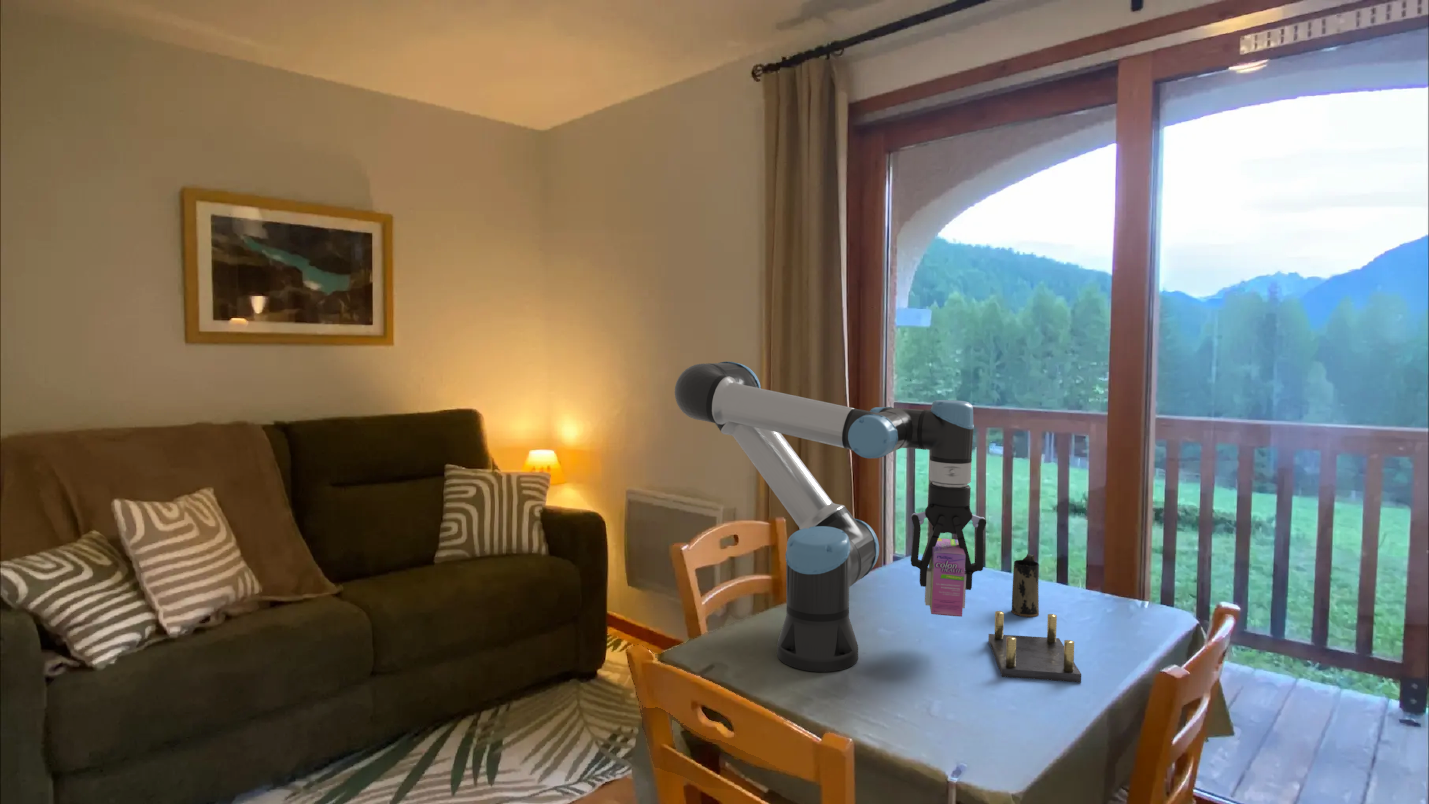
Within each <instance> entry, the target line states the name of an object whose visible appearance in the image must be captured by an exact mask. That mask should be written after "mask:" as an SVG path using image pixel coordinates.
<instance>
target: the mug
mask: <svg viewBox="0 0 1429 804" xmlns="http://www.w3.org/2000/svg"><path fill="white" fill-rule="evenodd" d="M1039 566H1040V564H1039V562H1037V561H1035V555H1034V554H1029V553H1028V554H1026V555H1025V557H1024V558H1023V559H1017V560H1014V561H1013V572H1012V573H1013V574H1012V575H1013V576H1012V590H1011V591H1012V594H1011V613H1012V614H1013V615H1015V616H1018V617H1022V618H1035V617H1038V616H1039V615H1040V609H1039V603H1040V602H1039V601H1040V600H1039V599H1040V598H1039V597H1040V596H1039V595H1040V594H1039V580H1040V579H1039V576H1040V575H1039V572H1040V571H1039V570H1040V567H1039Z"/></svg>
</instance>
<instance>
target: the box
mask: <svg viewBox="0 0 1429 804" xmlns="http://www.w3.org/2000/svg"><path fill="white" fill-rule="evenodd" d="M965 558H966V555H965V552H964V550H963V549H962V548H960V547H959V544H958V540H957V538H956V539H955V538H940V537H939V538H938V540H937V543H936V546H935V547H932V557H931V560H930V562H929V565H928V568H930V569H931V588H930V606H929V609H930V614H931V615H937V616H949V617H963V609H964V608H963V591H964V574H965Z"/></svg>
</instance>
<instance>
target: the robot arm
mask: <svg viewBox="0 0 1429 804" xmlns="http://www.w3.org/2000/svg"><path fill="white" fill-rule="evenodd" d="M761 387H762V386H761V383H760V380H759V377H758V376H757V374H756V373H755V372H754V371H753V370H752V369H751V368H750V367H748V366H747V365H745V364H742V363H738V362H734V361H720V362H718V363H717V362H714V363H709V362H708V363H697V364H693V365H691V366H689V367H687V368H686V369H684V370H683V371H682V372H681V374H680V375H679V376H678V378H677V380H676V383H675V386H674V398H675V402H676V404H677V407H678V408H679V409H680V411H681V413H683V414H685V415H686V417H689V418H691V419H694V420H697V421H702V422H708V423H712V424H714V425H715V426H716V428H717V429H718V430H719V431H720V433H722V435H726V436H732V437H733V438H734V440H735V441H736V443H737V444H738V445H739V447H740V448H741V449H742V451H743V452H744V453H745V455H746V456H747V457H748V459H749V460H750V462H751V463H752V464H753V466H754V467H755V469H756V470H757V471H758V473H759V474H760V475H761V477H762V478H763V480H764V481H765V482H766V484H767V485H768V487H769V488H770V489H771V491H772V492H773V493H774V495H775V496H776V498H777V499H778V500H779V502H780V503H781V504H782V506H783V507H784V508H785V510H786V511H787V513H788V514H789V515H790V517H791V518H792V519H793V522H795V524H796V525H797V526H798V528H799V529H798V530H796V531H795V532H793V533H792V534H790V536H789V537H788V539H787V542H786V550H785V555H784V556H785V562H786V563H785V564H786V565H785V569H786V570H785V571H786V572H785V573H786V574H785V576H786V577H785V578H786V584H785V586H786V587H785V588H786V590H785V591H786V614H785V618H784V620H783V623H782V626H781V630H780V633H779V636H778V639H777V643H776V656H777V659H778V660H780V662H781V663H783V664H785V665H786V666H788V667H792V668H794V669H797V670H801V671H807V672H817V673H819V672H820V673H822V672H823V673H824V672H837V671H842V670H845V669H848V668H851V667H852V666H854V665H855V664H856V663H857V662H858V661H859V645H858V642H857V638H856V635H855V631H854V628H853V625H852V623H851V619H850V588H851V587H852V586H853V585H854V584H855V583H857V582H859V580H862V579H863V578H864V577H866V576H867V575H869V573H870V572H871V571H872V569H873V568H874V567H875V565H876V563H877V562H878V560H879V555H880V545H879V544H880V542H879V539H878V537H877V534H876V533H875V531H874V529H873V528H872V527H871V526H870V525H869V524H868V523H867V522H865V521H863V520H861V519H858V518H854V516H853V515H852V513H851V512H850V511H849V510H848V509H847V507H846V505H844V504H838V503H836V502H833V501H832V499H831V498H830V497H829V495H828V494H827V493H826V491H825V490H824V489H823V487H822V486H821V484H820V483H819V481H818V480H817V479H816V478H815V477H814V475H813V474H812V473H811V471H810V470H809V468H808V467H807V466H806V465H805V464H804V462H803V461H802V460H801V458H800V457H799V456H798V454H797V453H796V451H795V450H794V448H793V447H792V446H791V444H790V443H789V442H788V440H787V439H786V437H784V435H787V436H790V437H796V438H800V439H804V440H809V441H812V442H817V443H822V444H824V445H825V444H826V445H830V446H834V447H839V448H843V449H847V450H850V451H853V452H854V453H855V454H856V455H858V456H860V457H861V458H865V459H880V458H883V457H885V456H887V455H890V454H891V453H893V452H895V451H898V450H900V449H912V450H914V449H915V450H927V451H929V468H928V469H929V470H928V479H929V481H930V483H929V484H928V492H927V493H928V494H927V495H928V497H927V506H926V508H925V510H924V511H921V512H915V511H913V512H911V514H910V516H911V522H912V524H913V526H912V527H913V528H912V539H911V552H910V565H911V566H912V567H914V568H915V567H916V568H918V569H919V584H920V587H925V590H924V603H925V606H929V607H930V588H931V569H930V568H929V562H930V560H931V557H932V547H935V546H936V543H937V540H938V538H940V536H941V534H952V535H955V537H956V540H958V544H959V547H960V548H962V549H963V550H964V552H965V555H966V558H965V574H964V591H963V609H965V608H966V594H967V593H966V592H967V591H971V589H972V588H973V574H974V573H975V572H982V571H983V569H984V530H985V528H986V525H987V520H986V519H985V517H984V516H982V515H980V516H978V515H977V514H973V513H972V510H971V489H972V488H971V486H970V485H969V484H970V483H972V479H971V478H972V462H973V460H972V458H973V457H972V455H973V442H974V430H975V425H974V407H973V404H971V403H970V402H968V401H965V400H957V399H956V400H955V399H948V400H947V399H937V400H934V401H933V402H932V404H931V407H930V409H924V410H923V409H914V408H913V409H912V408H903V407H902V408H898V407H892V406H885V407H878V406H877V407H872V408H871V409H870V410H865V409H859V408H858V409H857V408H854V407H849V406H845V405H840V404H835V403H831V402H826V401H822V400H818V399H817V400H816V399H812V398H808V397H807V398H806V397H802V396H798V395H792V394H790V393H789V394H788V393H783V392H779V391H775V390H771V389H770V390H769V389H765V388H761ZM926 518H927V520H928V522H929V523H930V525H931V526H932V528H931V530H930V535H929V537H928V540H927V543H926V546H925V548H924V552H923V554H922V557H921V559H919V554H920V553H919V552H920V542H921V525H923V524H924V521H925V519H926ZM970 521H972V523H971V524H972V526H973V528H974V562H973V563H972V562H971V558H970V555H969V551H968V550H969V549H968V546H967V543H966V542H967V541H966V538H965V535H964V531H963V530H964V528H965V527H966V526H967V525H968V524H969V523H970Z"/></svg>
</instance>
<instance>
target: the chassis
mask: <svg viewBox="0 0 1429 804" xmlns="http://www.w3.org/2000/svg"><path fill="white" fill-rule="evenodd" d="M1057 620H1058V616H1057V614H1054V613H1048V614H1047V623H1046V624H1047V625H1046V626H1047V628H1046V630H1047V631H1046V636H1045V637H1044V636H1032V635H1031V636H1029V635H1028V636H1027V635H1015V634H1014V635H1012V634H1004V629H1005V628H1004V626H1005V625H1004V623H1005V612H1003V611H1001V610H996V611H994V633H988V637H987V638H988V644H989V647H990V649H991V651H992V654H993V657H994V660H995V662H996V665H997V667H998V670H999V672H1000V676H1001V677H1002V678H1011V679H1013V678H1014V679H1026V680H1039V681H1040V680H1041V681H1051V682H1052V681H1054V682H1055V681H1056V682H1067V683H1078V684H1079V683H1082V673H1081V671H1080V669H1079V668H1078V667H1077V665H1076V663H1075V641H1073V640H1071V639H1065V640H1064V641H1063V642H1064V643H1063V642H1062V640H1061V639H1060V638H1059V637H1057V625H1058V623H1057Z"/></svg>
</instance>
